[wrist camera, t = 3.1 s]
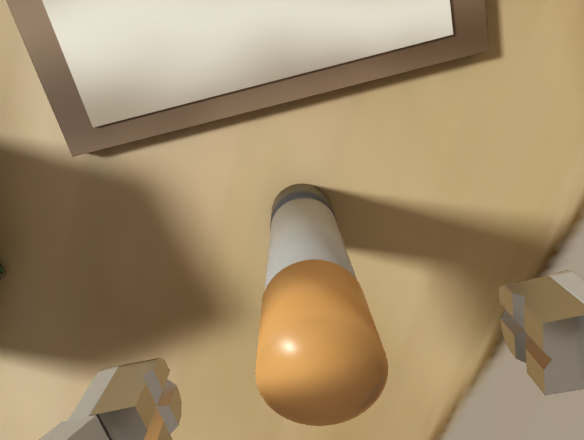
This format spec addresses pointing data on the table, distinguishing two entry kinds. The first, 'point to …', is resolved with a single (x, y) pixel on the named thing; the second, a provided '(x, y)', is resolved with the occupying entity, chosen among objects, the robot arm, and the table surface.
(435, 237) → the table surface
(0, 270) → the chalk box
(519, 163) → the table surface
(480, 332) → the table surface
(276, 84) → the clipboard
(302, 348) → the marker
